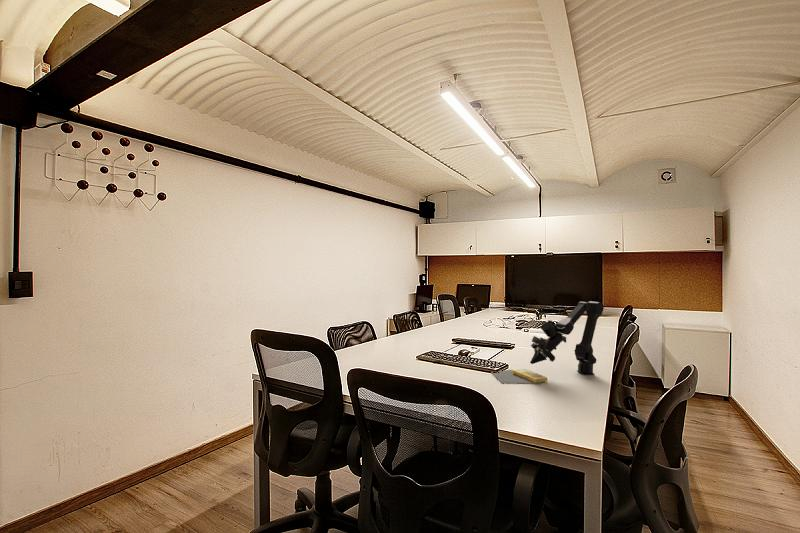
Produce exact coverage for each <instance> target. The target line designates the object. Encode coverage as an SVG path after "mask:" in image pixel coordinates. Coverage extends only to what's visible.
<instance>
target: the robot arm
mask: <svg viewBox="0 0 800 533" xmlns="http://www.w3.org/2000/svg"><path fill="white" fill-rule="evenodd" d="M604 309H605V306H604V304H603V302H601V301H592V300H590V301H579V302H578V303H577V306H576V307H575V308H574V309H572V311H571V312H570V313H569V314H568V315H567V316H566V317H565V318H562V319H561V320H559V321H558V322H556V324H554V321H553V320H547V321H546V322H543V323H542V324H541V326H540V329H541V331H542V332H543V333H544V334H545V335H546V336H547V338H543V337H538V336H535V335H533V337H532V340H531V342H532V344H531V345H530V347H531V348H532V349H533V350H534V353H533V356H532V358H531V359H530V362H529V363H530V365H533V364H536V363H540V362H543V361H547V360H548V359H549V361H550V362H552V363H553V362H554V361H555V360H556V356H555V355H554V354H553V353H552V352H553V351H556V350H557V347H558V346H559V345H560V344H561V343H562V342H563V343H567V337H566V336H565V335H570V334H571V333H572V331H574V328H575V326H574V325H575V324H576V323H577V322H578V320H579V319H580V318H581V317H582V316H583V315H584V314H586V317H587V318H586V322H585V326H584V329H583V333H582V336H581V337H582V338H581V341H580V342H579V343H576V345H575V348H574V350H573V351H574V355H575V359H576V361H578V364H577V370H576V371H577V372H578V373H580V374H581V375H590V376H591V375H592V376H593V375H595V373H594V365H595V364H597V358H596V357H595V355H594V354H593V353H594V350H593V346H592V343H593V338H594V335H595V331H596V326H597V322H598V319H599V318H600V317H601V316H602V315H603V312H604ZM547 358H548V359H547Z"/></svg>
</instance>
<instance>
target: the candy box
mask: <svg viewBox="0 0 800 533" xmlns="http://www.w3.org/2000/svg"><path fill="white" fill-rule="evenodd" d="M512 370H513V374H516V375H518V376H520V377H523V378H525V379H528V380H530V381H533V382H541V383H542V382H548V377H547V376H545V375H542V374H539V373H537V372H533V371H532V370H529V369H527V368H520V369H512Z"/></svg>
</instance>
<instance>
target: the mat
mask: <svg viewBox="0 0 800 533" xmlns="http://www.w3.org/2000/svg"><path fill="white" fill-rule="evenodd" d="M502 370H503V371H500V372H499V373H493V372H490V373H491V374H492V375H493V376H494V377H495V379H496V380H497V381H498V380H499V381H500V382H501V383H513V385H519V384H522V385H526V384H529V385H531V384H532V385H534V384H535V385H541V384H542V382H533V381H530V380H528V379H525V378H523V377H520V376H518V375H516V374H513V370H514V369H502ZM499 381H498V382H499ZM500 382H499V383H500ZM501 383H500V384H501ZM514 383H516V384H514Z"/></svg>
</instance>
